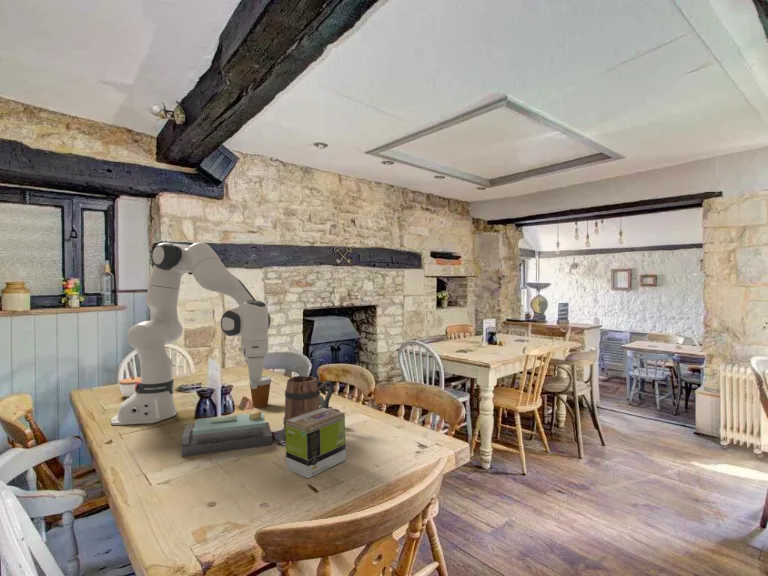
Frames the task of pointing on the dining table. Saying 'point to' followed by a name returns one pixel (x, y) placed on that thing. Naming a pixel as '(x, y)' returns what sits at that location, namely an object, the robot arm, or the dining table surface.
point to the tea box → (315, 441)
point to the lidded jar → (128, 386)
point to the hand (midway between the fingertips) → (254, 387)
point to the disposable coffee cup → (261, 392)
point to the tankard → (303, 397)
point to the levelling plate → (229, 423)
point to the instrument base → (224, 440)
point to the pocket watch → (322, 402)
